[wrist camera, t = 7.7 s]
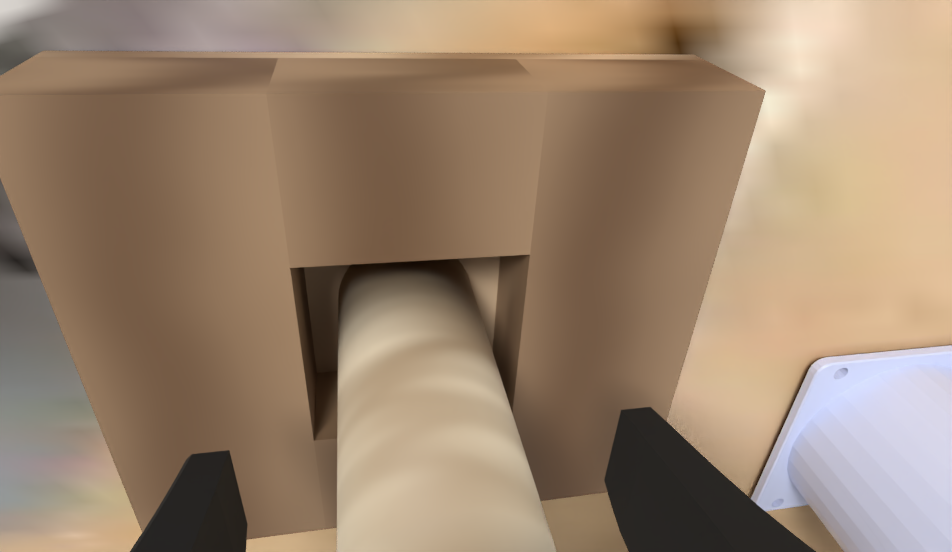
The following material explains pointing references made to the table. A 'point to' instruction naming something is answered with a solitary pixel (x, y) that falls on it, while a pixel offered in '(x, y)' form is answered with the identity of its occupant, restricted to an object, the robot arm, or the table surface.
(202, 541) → the robot arm
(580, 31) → the table surface
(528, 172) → the socket block
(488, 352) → the dowel
